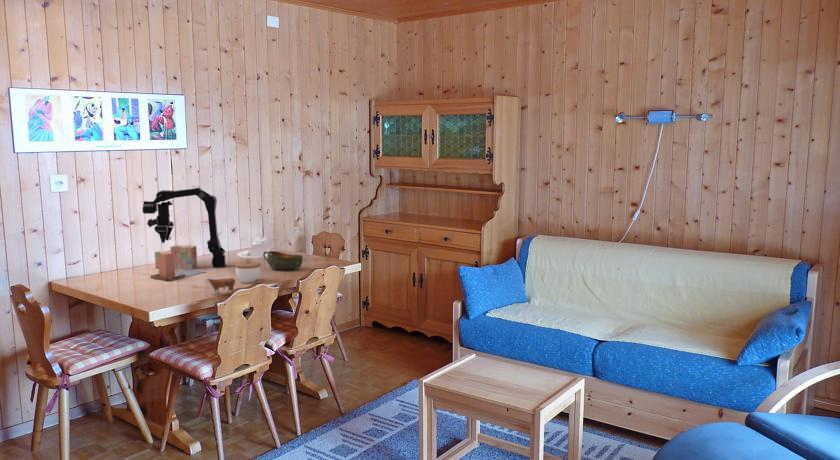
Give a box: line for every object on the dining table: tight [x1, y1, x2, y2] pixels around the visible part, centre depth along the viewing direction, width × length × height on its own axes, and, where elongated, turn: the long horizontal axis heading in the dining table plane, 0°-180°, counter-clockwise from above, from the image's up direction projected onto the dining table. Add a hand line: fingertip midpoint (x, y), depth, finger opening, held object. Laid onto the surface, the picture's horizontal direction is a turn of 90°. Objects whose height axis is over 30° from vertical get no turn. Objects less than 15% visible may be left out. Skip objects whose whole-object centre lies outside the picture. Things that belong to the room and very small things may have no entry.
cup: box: [263, 250, 304, 272], centre depth 364 cm, size 13×20×10 cm, turn 56°
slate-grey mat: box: [175, 269, 206, 277], centre depth 355 cm, size 12×12×1 cm
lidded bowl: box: [234, 259, 262, 284], centre depth 336 cm, size 13×13×11 cm
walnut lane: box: [150, 273, 186, 282], centre depth 343 cm, size 11×13×2 cm
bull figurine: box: [205, 276, 236, 296], centre depth 310 cm, size 4×13×8 cm, turn 95°
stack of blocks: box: [154, 244, 198, 270], centre depth 368 cm, size 21×6×12 cm, turn 84°
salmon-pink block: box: [158, 252, 176, 278], centre depth 342 cm, size 6×6×13 cm
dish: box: [237, 235, 280, 259], centre depth 409 cm, size 25×25×11 cm
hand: (165, 241), depth 366 cm, fingers open, 9 cm apart
